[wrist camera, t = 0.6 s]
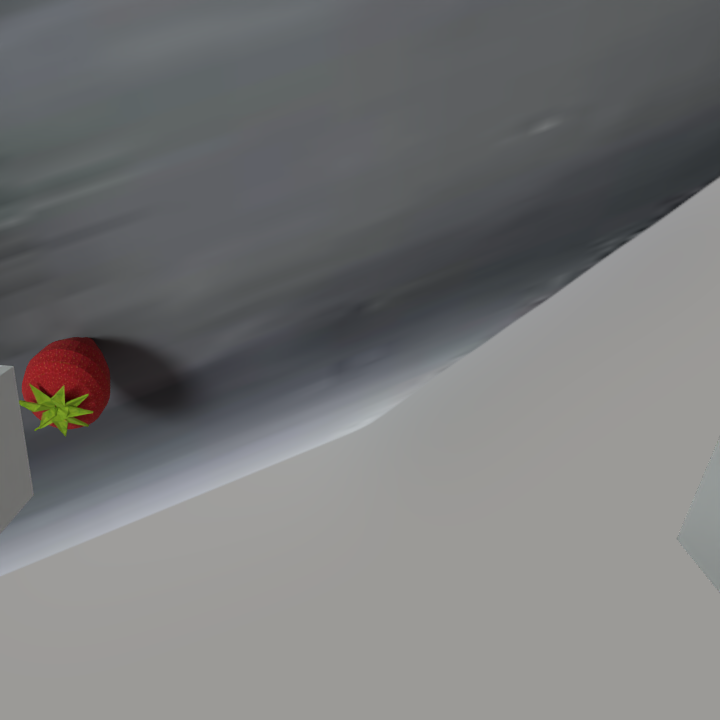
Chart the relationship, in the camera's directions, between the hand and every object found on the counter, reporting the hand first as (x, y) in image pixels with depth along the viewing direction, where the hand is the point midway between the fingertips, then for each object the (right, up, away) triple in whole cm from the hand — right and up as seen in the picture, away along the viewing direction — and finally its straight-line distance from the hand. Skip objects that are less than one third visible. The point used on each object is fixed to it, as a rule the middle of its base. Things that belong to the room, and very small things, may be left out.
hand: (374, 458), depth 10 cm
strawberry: (-23, +4, +35) cm, 42 cm away
